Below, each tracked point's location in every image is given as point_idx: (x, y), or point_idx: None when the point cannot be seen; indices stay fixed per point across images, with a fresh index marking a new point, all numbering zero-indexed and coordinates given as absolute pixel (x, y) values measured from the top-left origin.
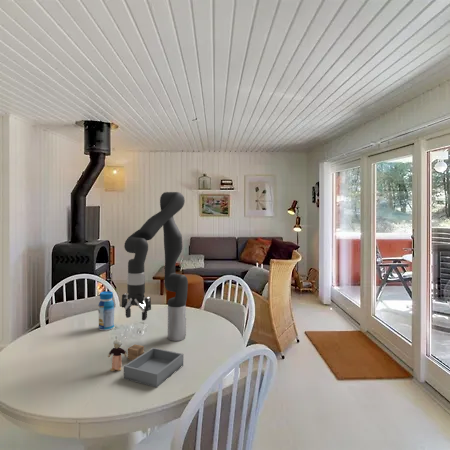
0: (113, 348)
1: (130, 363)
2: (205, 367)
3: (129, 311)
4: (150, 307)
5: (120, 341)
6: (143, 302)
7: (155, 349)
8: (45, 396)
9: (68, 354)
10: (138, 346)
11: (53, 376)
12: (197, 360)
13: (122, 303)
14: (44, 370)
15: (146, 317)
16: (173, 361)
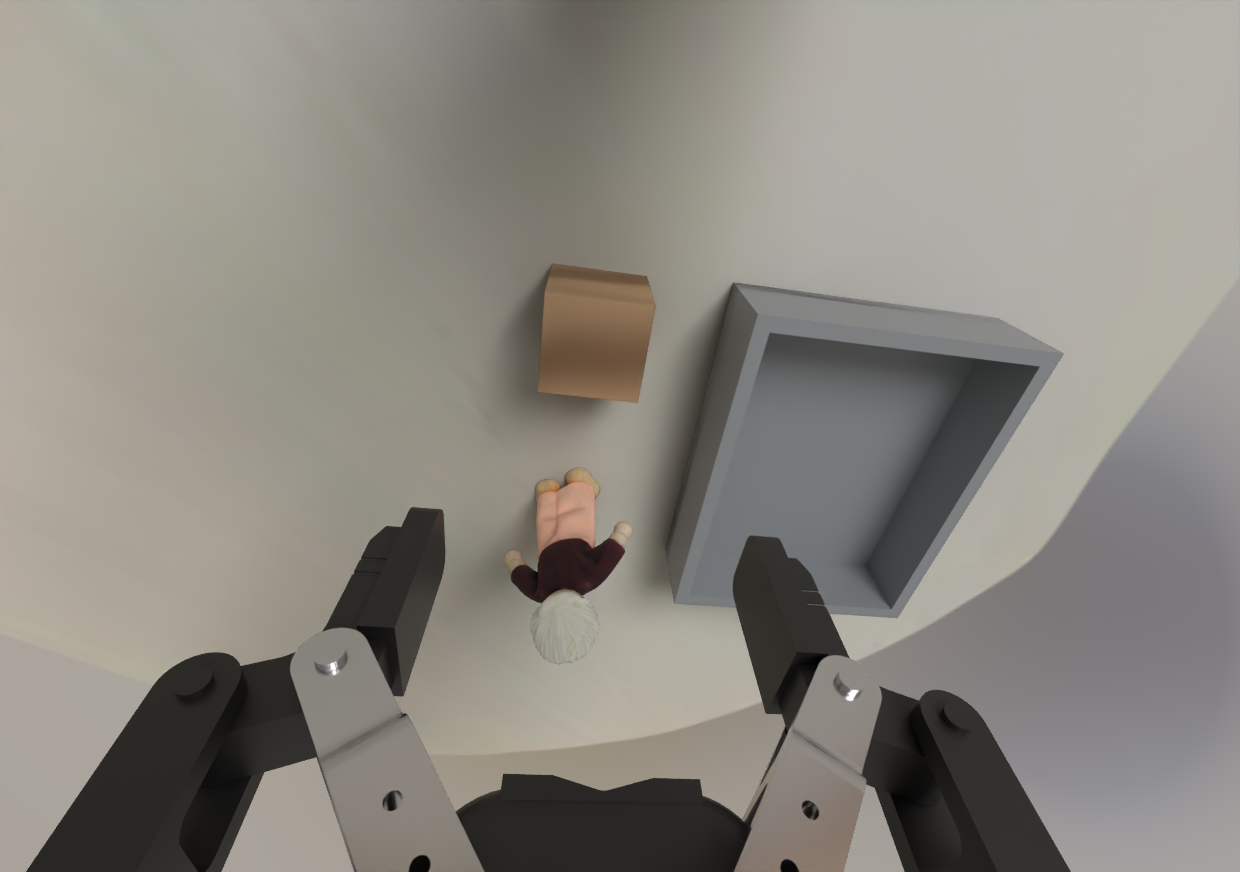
0: (539, 600)
1: (696, 569)
2: (1170, 296)
3: (415, 609)
4: (993, 771)
5: (588, 632)
6: (820, 867)
7: (789, 333)
8: (442, 706)
9: (72, 416)
10: (608, 328)
11: (313, 618)
12: (1124, 197)
13: (185, 843)
14: (203, 595)
15: (806, 585)
16: (981, 480)
